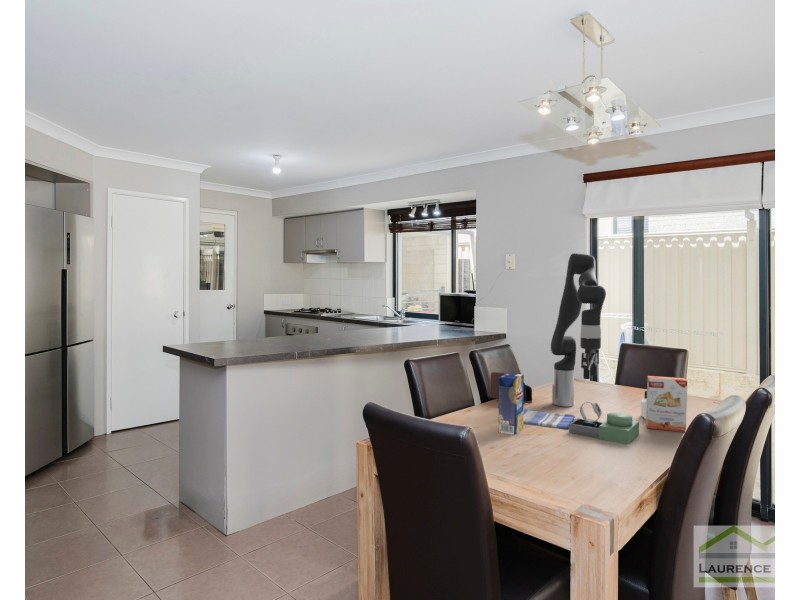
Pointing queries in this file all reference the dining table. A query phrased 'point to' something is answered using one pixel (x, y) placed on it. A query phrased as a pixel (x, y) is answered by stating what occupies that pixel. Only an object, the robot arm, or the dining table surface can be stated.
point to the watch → (596, 409)
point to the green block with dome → (619, 428)
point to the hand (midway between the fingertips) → (590, 377)
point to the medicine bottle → (644, 406)
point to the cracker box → (666, 403)
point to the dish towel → (547, 419)
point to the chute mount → (584, 428)
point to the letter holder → (495, 388)
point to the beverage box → (511, 403)
